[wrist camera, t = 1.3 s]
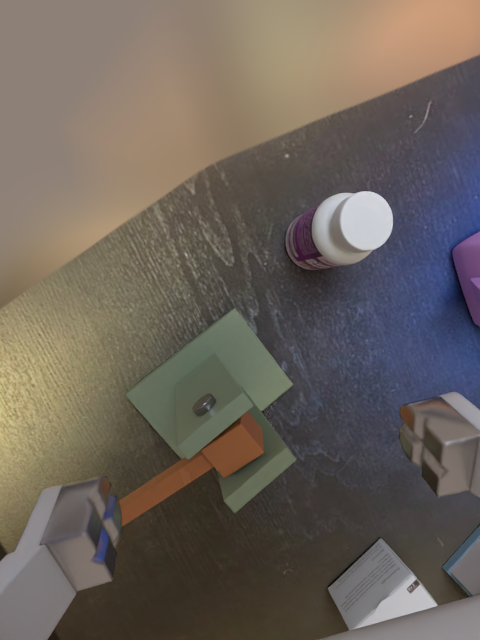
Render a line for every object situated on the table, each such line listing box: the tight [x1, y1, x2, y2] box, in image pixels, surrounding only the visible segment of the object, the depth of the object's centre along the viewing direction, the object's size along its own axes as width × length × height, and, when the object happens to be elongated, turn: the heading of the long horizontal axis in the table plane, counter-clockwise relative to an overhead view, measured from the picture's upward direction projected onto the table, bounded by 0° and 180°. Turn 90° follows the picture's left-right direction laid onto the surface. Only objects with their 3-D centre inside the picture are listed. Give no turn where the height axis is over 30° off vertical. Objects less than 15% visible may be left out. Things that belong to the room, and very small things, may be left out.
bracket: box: [125, 308, 296, 513], centre depth 25 cm, size 12×9×14 cm
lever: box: [113, 411, 264, 550], centre depth 21 cm, size 14×4×4 cm, turn 127°
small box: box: [328, 538, 439, 631], centre depth 34 cm, size 8×8×5 cm
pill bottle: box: [286, 191, 393, 270], centre depth 28 cm, size 5×5×10 cm
